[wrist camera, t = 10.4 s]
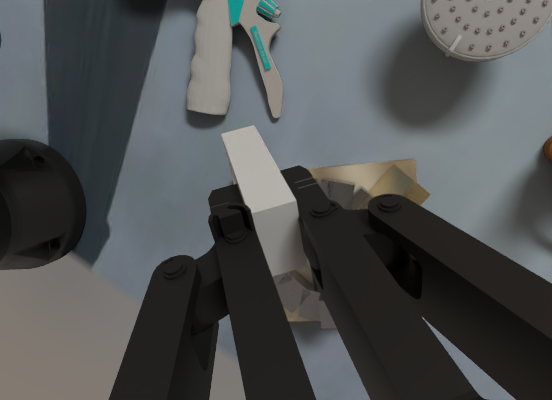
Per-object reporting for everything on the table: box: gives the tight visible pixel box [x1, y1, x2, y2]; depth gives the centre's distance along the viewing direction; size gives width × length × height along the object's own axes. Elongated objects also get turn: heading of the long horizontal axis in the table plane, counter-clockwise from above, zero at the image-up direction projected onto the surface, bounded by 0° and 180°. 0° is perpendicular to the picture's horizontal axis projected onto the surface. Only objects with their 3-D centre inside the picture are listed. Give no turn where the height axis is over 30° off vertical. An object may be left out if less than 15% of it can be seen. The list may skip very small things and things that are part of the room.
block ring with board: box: [273, 163, 430, 329], centre depth 33 cm, size 18×14×14 cm
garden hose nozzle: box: [186, 0, 284, 118], centre depth 38 cm, size 7×18×20 cm
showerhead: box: [421, 0, 552, 62], centre depth 32 cm, size 9×7×10 cm
